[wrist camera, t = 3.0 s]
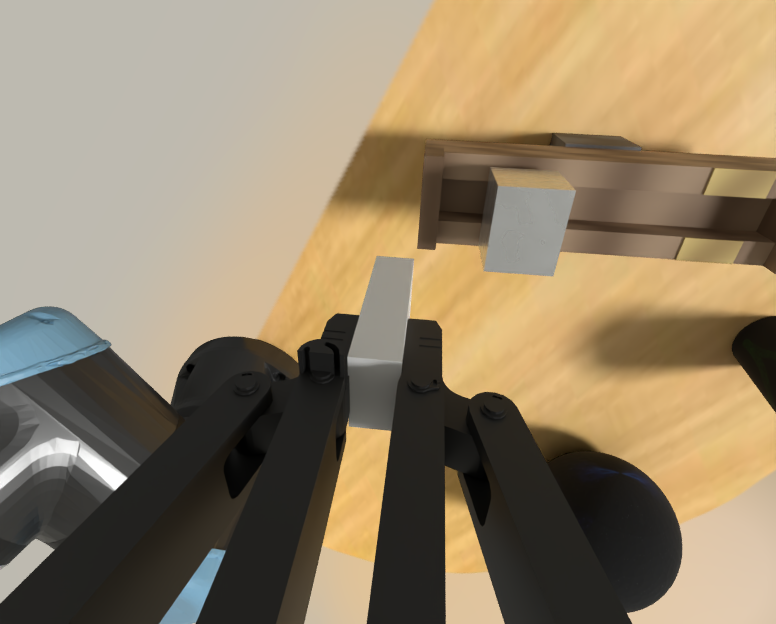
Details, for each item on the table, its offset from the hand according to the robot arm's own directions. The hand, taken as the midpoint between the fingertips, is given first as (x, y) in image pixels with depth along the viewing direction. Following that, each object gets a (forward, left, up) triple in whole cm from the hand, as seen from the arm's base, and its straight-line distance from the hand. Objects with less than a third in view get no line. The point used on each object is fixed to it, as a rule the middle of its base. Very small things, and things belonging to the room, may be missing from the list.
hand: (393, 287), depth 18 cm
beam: (+13, 0, -20) cm, 24 cm away
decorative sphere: (+22, -34, -21) cm, 45 cm away
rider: (+7, 0, -14) cm, 16 cm away
